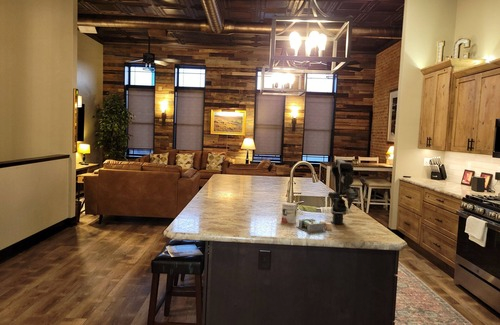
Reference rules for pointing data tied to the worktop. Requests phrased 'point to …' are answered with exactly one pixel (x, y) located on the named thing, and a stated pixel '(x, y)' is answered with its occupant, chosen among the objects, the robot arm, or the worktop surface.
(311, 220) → the board
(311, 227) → the chassis
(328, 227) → the block
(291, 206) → the ink box
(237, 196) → the worktop surface
